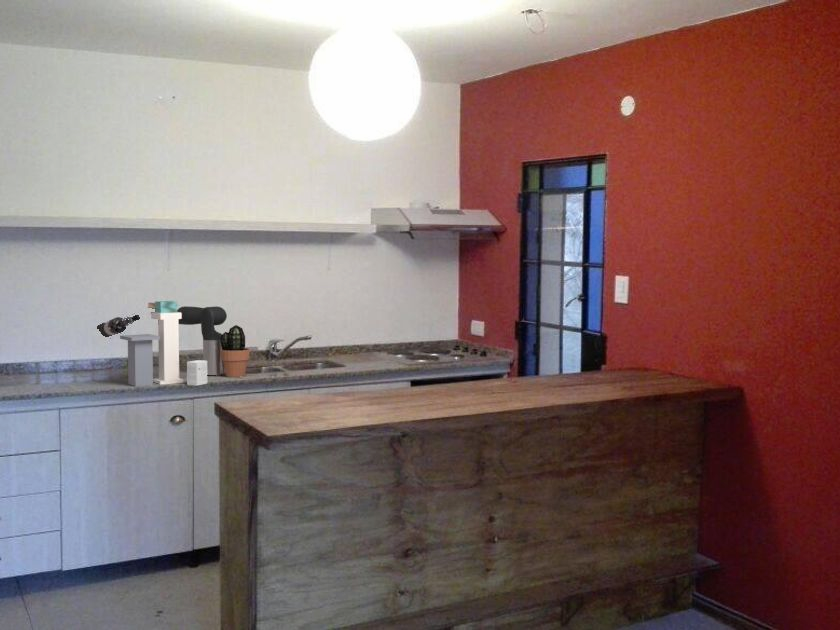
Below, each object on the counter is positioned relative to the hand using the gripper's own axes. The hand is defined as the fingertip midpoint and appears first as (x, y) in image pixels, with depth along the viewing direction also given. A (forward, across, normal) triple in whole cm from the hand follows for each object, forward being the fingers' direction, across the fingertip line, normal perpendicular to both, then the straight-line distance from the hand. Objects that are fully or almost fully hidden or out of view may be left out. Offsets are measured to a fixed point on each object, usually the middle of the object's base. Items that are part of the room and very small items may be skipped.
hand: (130, 319), depth 403 cm
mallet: (+22, -3, -2) cm, 22 cm away
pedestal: (+19, +19, -29) cm, 39 cm away
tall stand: (+20, +7, -33) cm, 39 cm away
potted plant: (+25, -24, -44) cm, 56 cm away
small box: (+35, +2, -38) cm, 52 cm away
